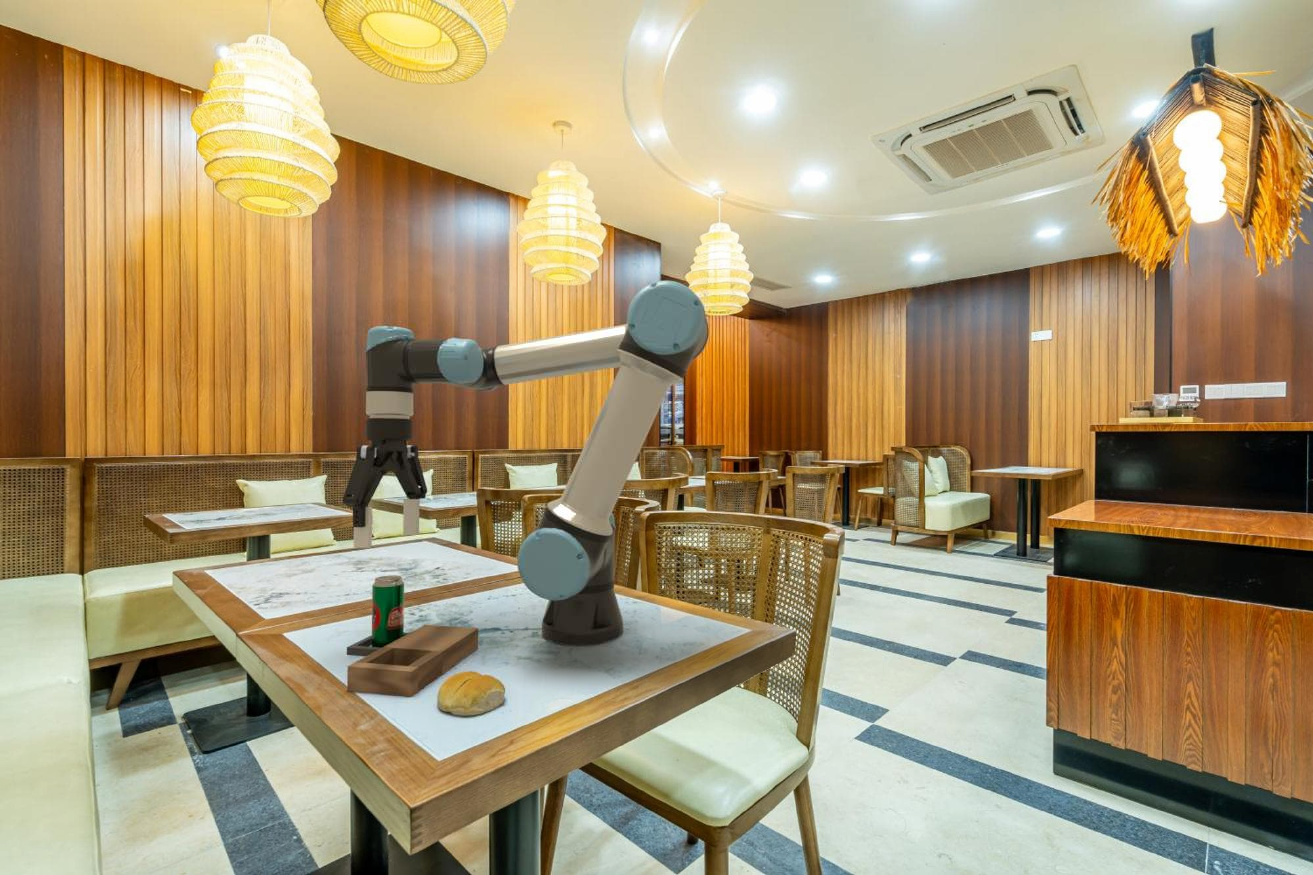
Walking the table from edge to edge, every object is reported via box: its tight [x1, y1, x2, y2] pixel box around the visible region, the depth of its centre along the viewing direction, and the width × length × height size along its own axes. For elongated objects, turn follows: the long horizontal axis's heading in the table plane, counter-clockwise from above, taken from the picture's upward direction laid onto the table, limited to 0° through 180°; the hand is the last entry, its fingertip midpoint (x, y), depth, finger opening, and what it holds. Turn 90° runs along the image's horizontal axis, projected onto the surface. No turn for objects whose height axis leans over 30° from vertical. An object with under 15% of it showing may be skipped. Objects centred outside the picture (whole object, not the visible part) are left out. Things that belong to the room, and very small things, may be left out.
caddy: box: [346, 624, 479, 698], centre depth 95 cm, size 10×20×4 cm, turn 170°
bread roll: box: [436, 670, 506, 717], centre depth 83 cm, size 8×9×4 cm
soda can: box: [371, 574, 405, 648], centre depth 104 cm, size 5×5×12 cm
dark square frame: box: [346, 632, 410, 657], centre depth 104 cm, size 9×9×1 cm
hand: (388, 540), depth 104 cm, fingers open, 13 cm apart
